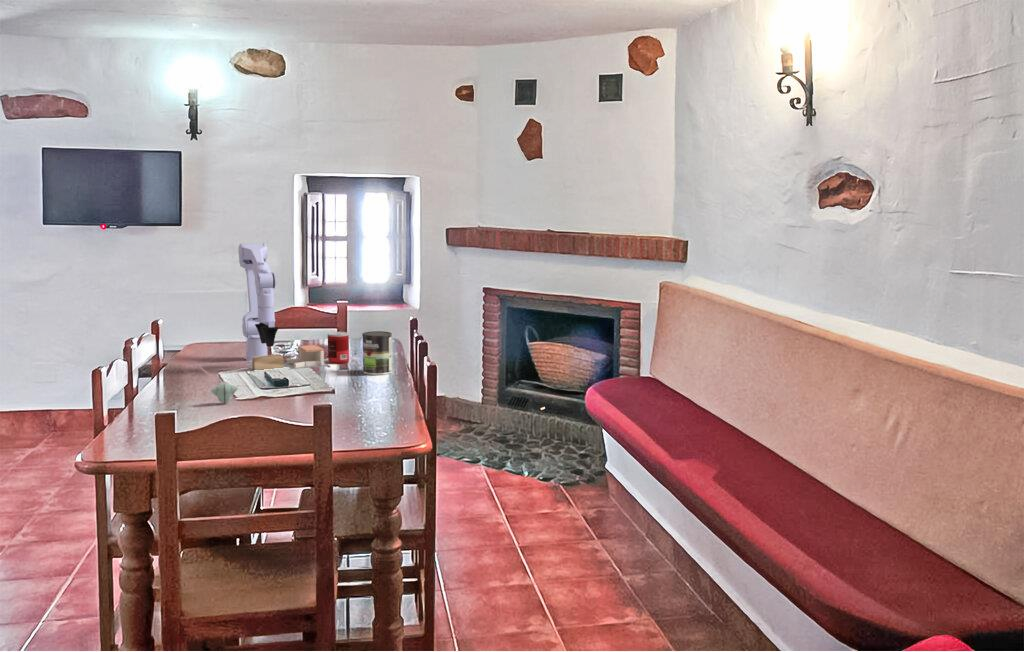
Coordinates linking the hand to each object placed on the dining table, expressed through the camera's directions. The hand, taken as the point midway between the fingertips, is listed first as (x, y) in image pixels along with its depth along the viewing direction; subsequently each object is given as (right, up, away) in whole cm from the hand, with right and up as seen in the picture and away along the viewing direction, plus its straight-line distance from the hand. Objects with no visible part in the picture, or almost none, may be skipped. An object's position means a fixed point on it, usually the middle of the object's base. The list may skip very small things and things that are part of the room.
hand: (267, 344), depth 329 cm
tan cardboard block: (0, -9, +1) cm, 9 cm away
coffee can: (+39, -10, -1) cm, 41 cm away
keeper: (+5, -8, +8) cm, 13 cm away
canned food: (+22, -7, +18) cm, 29 cm away
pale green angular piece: (0, -17, -49) cm, 52 cm away
